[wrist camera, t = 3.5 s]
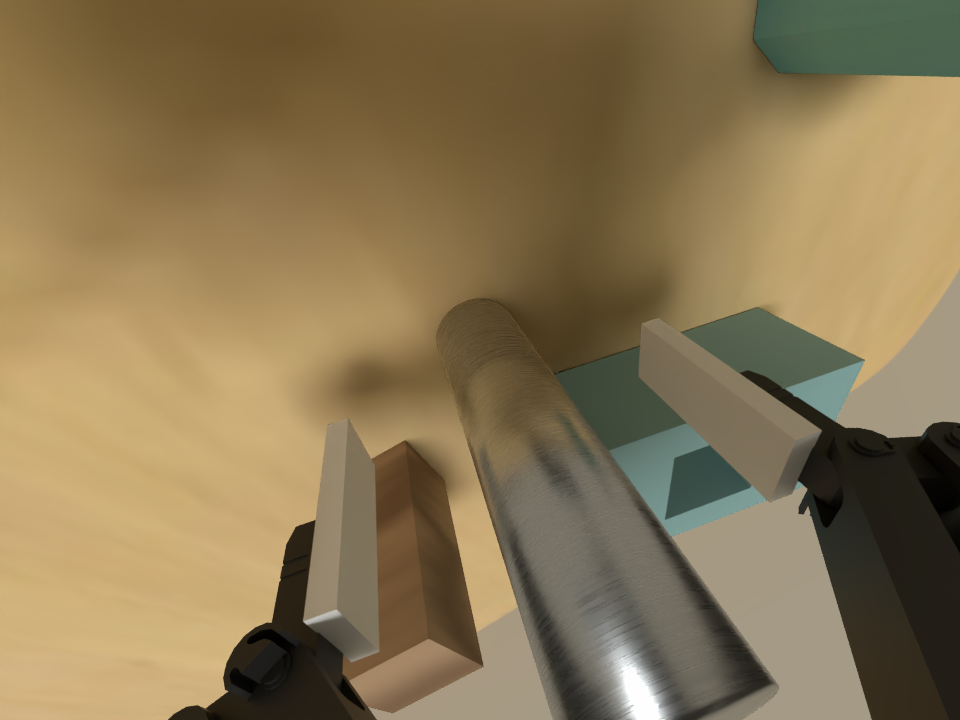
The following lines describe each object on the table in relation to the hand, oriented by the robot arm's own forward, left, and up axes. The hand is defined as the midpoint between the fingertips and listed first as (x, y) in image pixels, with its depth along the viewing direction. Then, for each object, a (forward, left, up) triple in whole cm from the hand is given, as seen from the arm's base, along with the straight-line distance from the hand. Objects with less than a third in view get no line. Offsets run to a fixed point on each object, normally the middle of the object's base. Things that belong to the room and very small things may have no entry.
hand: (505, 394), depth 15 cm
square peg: (+8, -7, -5) cm, 12 cm away
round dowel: (0, 0, -5) cm, 5 cm away
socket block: (+9, +10, -5) cm, 14 cm away
